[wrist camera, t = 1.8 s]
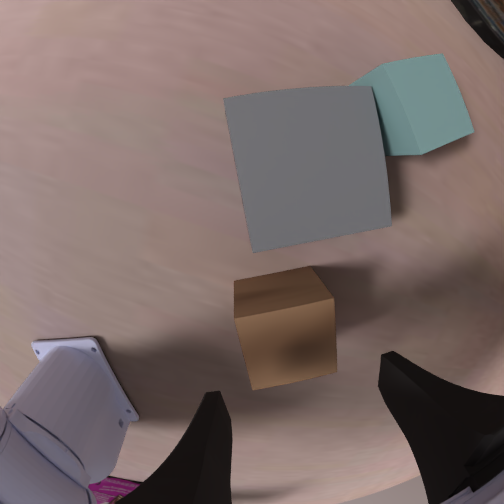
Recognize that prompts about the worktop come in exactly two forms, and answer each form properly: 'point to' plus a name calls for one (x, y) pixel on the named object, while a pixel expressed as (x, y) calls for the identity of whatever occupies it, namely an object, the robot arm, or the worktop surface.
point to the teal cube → (417, 105)
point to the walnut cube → (285, 327)
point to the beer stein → (485, 20)
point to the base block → (309, 164)
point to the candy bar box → (112, 489)
